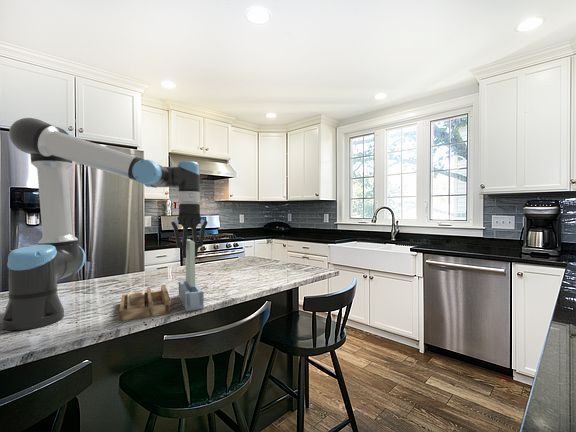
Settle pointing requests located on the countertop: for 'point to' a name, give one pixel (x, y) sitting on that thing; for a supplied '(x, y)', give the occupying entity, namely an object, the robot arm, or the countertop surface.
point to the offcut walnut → (136, 299)
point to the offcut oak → (134, 306)
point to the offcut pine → (135, 293)
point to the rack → (150, 309)
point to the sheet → (190, 263)
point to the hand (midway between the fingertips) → (190, 266)
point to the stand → (191, 296)
